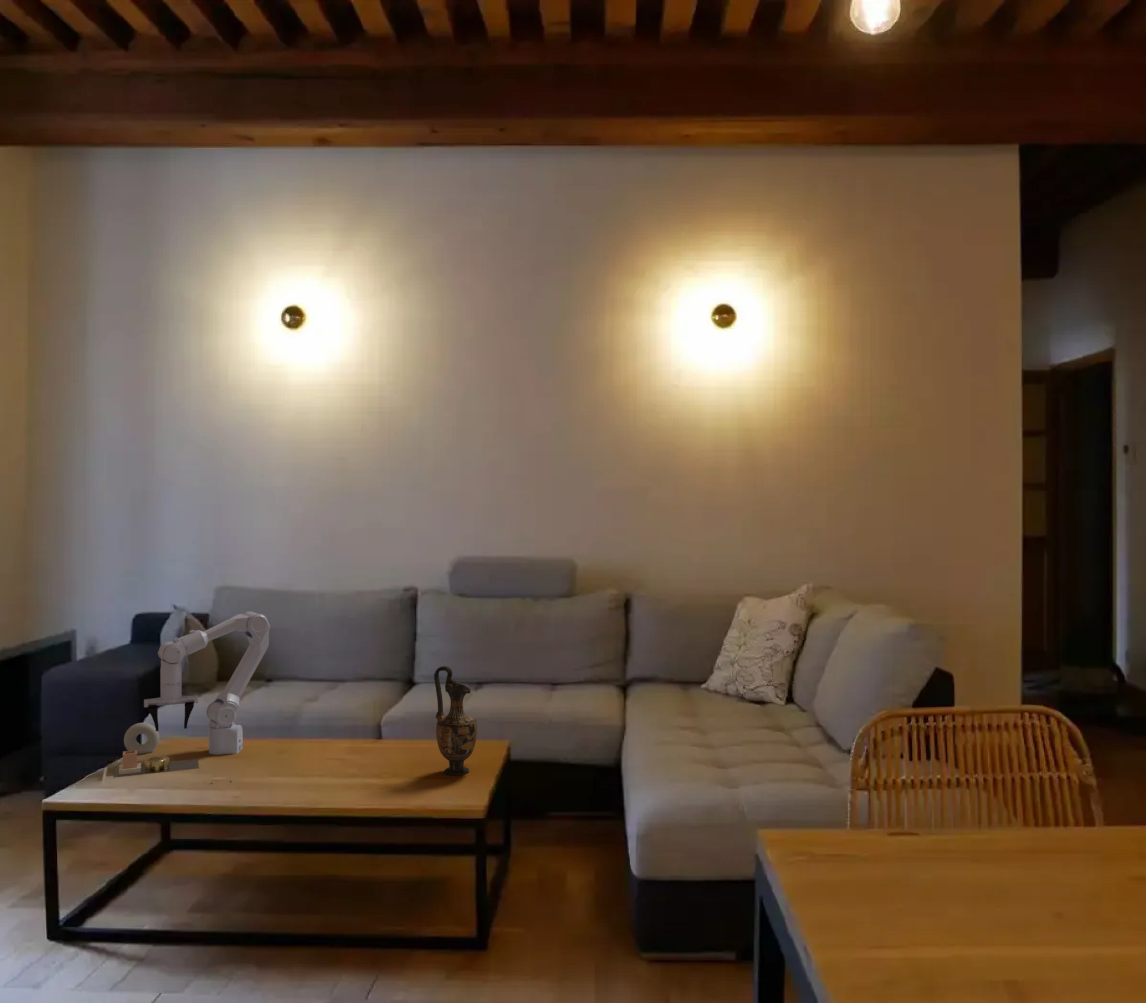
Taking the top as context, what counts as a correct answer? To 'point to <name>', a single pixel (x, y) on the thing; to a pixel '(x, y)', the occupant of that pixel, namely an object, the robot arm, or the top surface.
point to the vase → (454, 725)
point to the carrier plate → (172, 768)
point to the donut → (146, 730)
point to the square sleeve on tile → (129, 763)
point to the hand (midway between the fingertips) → (171, 729)
